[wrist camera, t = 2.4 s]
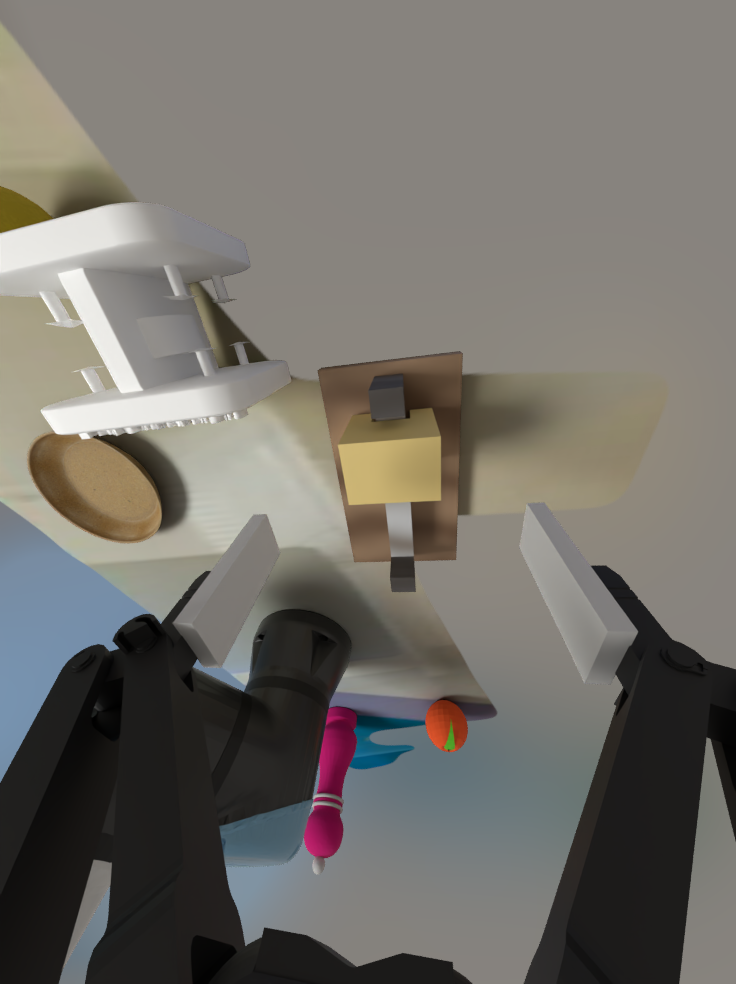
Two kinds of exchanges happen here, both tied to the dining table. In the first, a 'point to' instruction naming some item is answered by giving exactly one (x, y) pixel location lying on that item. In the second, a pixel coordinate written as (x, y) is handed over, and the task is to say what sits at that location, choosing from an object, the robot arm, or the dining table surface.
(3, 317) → the dining table surface
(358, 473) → the slider
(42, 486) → the plant saucer
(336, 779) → the pepper mill
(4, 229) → the lemon
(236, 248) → the cable organizer
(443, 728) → the clementine
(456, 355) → the rail board
